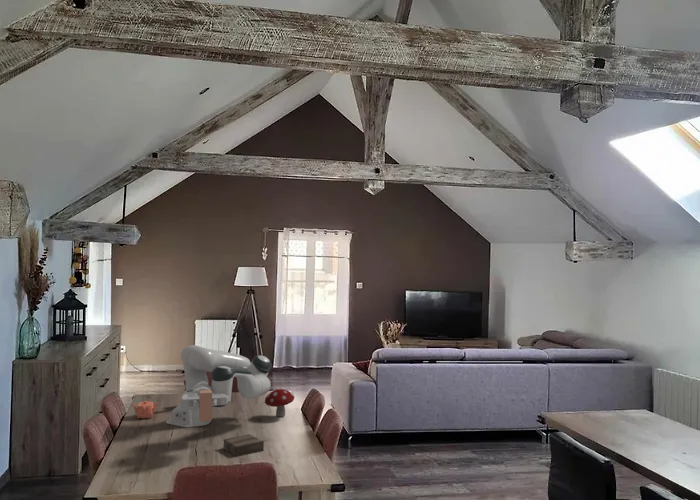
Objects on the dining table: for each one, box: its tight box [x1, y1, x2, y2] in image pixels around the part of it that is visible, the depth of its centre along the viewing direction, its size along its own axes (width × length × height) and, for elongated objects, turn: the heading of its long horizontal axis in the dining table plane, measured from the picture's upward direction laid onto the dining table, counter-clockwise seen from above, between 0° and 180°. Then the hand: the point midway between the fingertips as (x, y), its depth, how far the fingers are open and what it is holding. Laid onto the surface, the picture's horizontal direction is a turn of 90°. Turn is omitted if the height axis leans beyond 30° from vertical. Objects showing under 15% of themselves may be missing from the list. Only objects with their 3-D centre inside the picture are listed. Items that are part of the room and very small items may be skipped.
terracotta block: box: [199, 390, 213, 422], centre depth 258 cm, size 5×5×12 cm
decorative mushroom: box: [264, 388, 295, 417], centre depth 320 cm, size 16×16×15 cm
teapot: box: [130, 400, 160, 419], centre depth 316 cm, size 12×15×8 cm
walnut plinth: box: [223, 433, 265, 457], centre depth 267 cm, size 13×13×4 cm
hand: (205, 404), depth 257 cm, fingers closed on terracotta block, 5 cm apart
